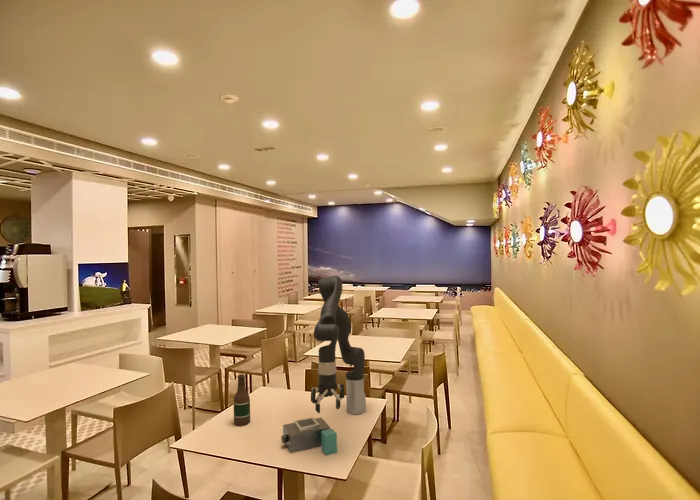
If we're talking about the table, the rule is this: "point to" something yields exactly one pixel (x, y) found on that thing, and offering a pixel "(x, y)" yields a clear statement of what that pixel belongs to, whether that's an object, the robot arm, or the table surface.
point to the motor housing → (303, 434)
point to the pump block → (329, 441)
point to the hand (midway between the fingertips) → (328, 410)
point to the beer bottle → (241, 403)
